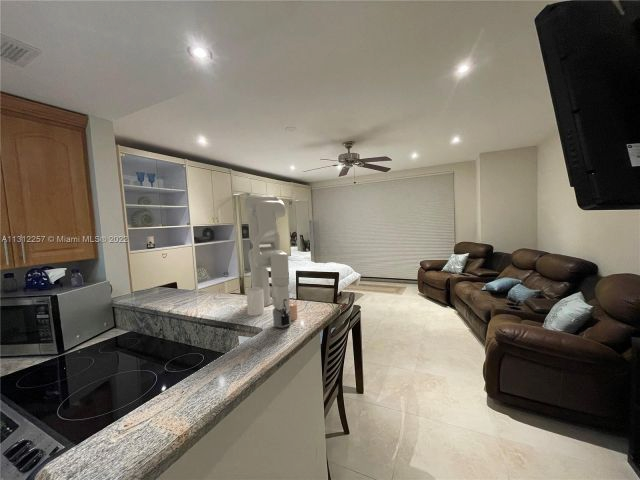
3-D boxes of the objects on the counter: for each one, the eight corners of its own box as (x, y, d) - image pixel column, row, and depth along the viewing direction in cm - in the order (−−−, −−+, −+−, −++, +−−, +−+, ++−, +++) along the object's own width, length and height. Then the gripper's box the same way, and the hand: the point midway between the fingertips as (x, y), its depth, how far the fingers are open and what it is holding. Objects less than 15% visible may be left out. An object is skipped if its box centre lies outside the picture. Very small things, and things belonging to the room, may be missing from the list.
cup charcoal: (271, 322, 111) (271, 308, 110) (287, 319, 114) (286, 305, 114) (277, 328, 104) (276, 313, 104) (293, 324, 108) (292, 310, 107)
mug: (259, 318, 119) (257, 293, 118) (241, 318, 120) (240, 293, 119) (267, 309, 131) (266, 286, 130) (251, 309, 132) (250, 287, 131)
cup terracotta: (279, 317, 120) (279, 303, 119) (293, 314, 123) (293, 301, 123) (284, 322, 113) (284, 308, 113) (299, 318, 117) (299, 305, 116)
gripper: (265, 278, 114) (267, 317, 115) (278, 286, 98) (280, 330, 100) (281, 276, 117) (283, 313, 119) (296, 283, 102) (298, 326, 103)
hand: (282, 321), depth 109 cm, fingers closed on cup charcoal, 7 cm apart
